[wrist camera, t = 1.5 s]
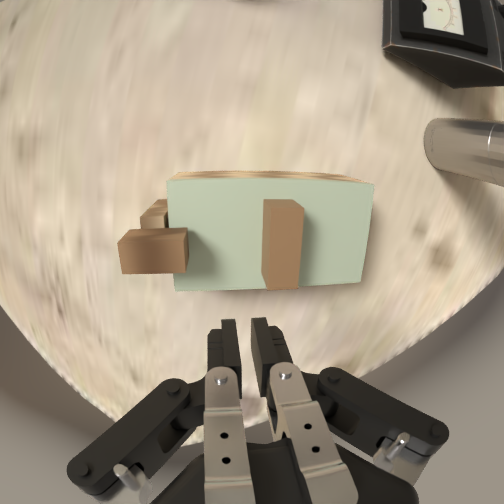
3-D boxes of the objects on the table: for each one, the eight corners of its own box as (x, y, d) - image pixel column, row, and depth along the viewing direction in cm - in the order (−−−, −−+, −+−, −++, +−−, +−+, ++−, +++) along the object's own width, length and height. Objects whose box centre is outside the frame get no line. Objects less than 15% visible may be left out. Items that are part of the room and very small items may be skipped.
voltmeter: (376, -18, 25) (446, -64, 7) (446, 22, 28) (520, 4, 9) (375, 50, 31) (467, 15, 12) (447, 89, 33) (536, 87, 15)
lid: (367, 182, 30) (394, 191, 25) (355, 277, 34) (375, 298, 29) (169, 179, 27) (158, 187, 22) (176, 285, 32) (170, 311, 26)
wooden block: (187, 227, 27) (183, 240, 23) (189, 255, 28) (185, 272, 24) (129, 229, 26) (117, 243, 23) (133, 257, 27) (122, 274, 24)
